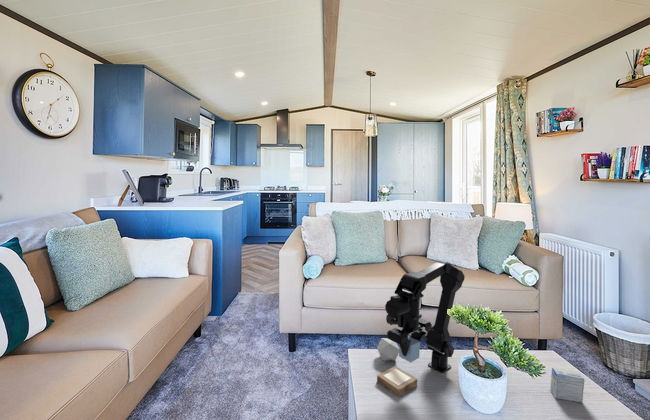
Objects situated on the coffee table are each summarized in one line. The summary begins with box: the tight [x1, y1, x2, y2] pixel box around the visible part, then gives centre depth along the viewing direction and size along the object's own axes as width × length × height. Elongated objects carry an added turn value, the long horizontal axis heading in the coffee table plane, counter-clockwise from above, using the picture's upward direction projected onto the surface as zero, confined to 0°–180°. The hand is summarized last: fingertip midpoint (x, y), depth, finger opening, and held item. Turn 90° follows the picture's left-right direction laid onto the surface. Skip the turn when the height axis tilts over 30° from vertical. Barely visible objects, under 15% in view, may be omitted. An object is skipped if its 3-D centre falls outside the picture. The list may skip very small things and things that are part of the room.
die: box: [376, 337, 399, 362], centre depth 129 cm, size 8×9×10 cm
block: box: [398, 335, 421, 363], centre depth 111 cm, size 5×5×6 cm
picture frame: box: [376, 365, 418, 398], centre depth 113 cm, size 10×10×3 cm
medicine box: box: [550, 367, 585, 404], centre depth 107 cm, size 8×4×9 cm, turn 73°
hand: (408, 353), depth 112 cm, fingers closed on block, 5 cm apart
